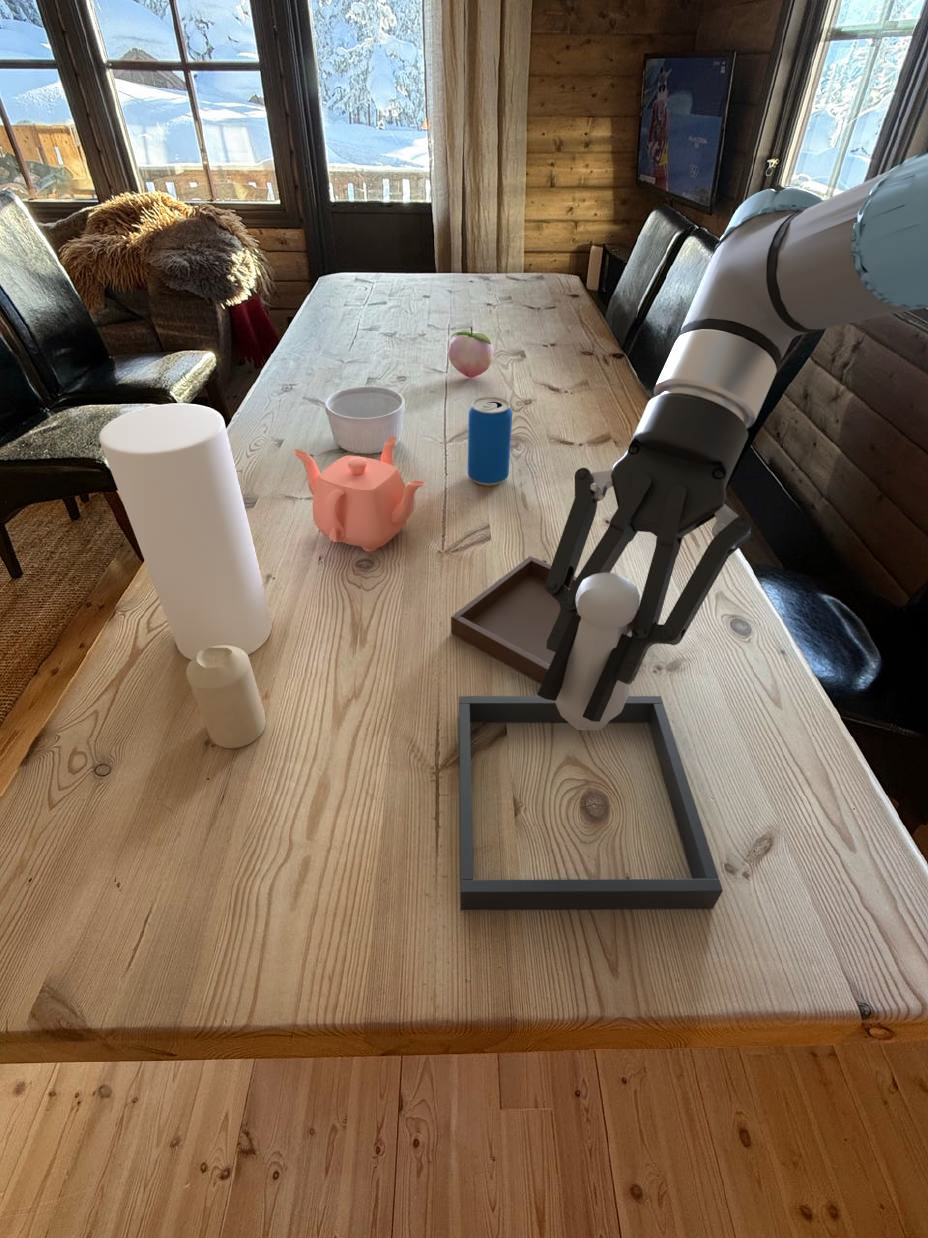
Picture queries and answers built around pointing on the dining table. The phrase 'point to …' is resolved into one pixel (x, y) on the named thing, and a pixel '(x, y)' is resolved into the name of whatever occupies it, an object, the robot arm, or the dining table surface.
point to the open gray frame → (587, 891)
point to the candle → (227, 695)
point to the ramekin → (365, 418)
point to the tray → (514, 619)
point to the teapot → (360, 498)
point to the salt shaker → (596, 646)
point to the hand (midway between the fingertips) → (568, 707)
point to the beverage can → (489, 440)
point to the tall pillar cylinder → (190, 524)
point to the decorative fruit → (470, 352)
